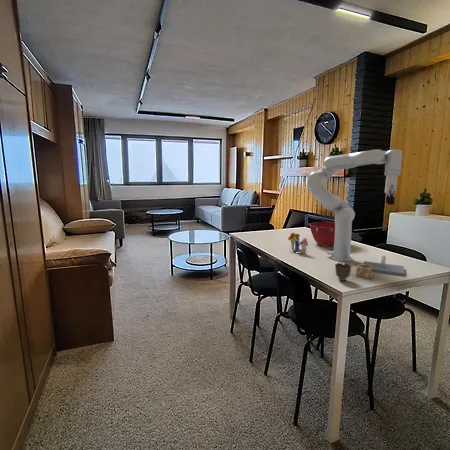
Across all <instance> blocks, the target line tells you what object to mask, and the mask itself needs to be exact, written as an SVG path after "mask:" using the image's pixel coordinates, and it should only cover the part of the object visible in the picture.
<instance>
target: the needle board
mask: <svg viewBox="0 0 450 450" xmlns="http://www.w3.org/2000/svg"><path fill="white" fill-rule="evenodd" d="M386 259H387V257H386V255H381V262H373V261H365V260H363V263H362V264H365V265H373V272H372V273H380V274H387V275H395V276H400V277H405V266H404V265H398V264H389V263H386Z"/></svg>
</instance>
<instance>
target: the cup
mask: <svg viewBox="0 0 450 450" xmlns="http://www.w3.org/2000/svg"><path fill="white" fill-rule="evenodd" d="M334 266H335V276H337V277H338V278H337V279H338V280H339V281H340V282H346V281H347V279H348V278H349V277H350V274H351V271H352V265H350V263H344V264H343V263H342V262H337V263H335V265H334Z"/></svg>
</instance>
